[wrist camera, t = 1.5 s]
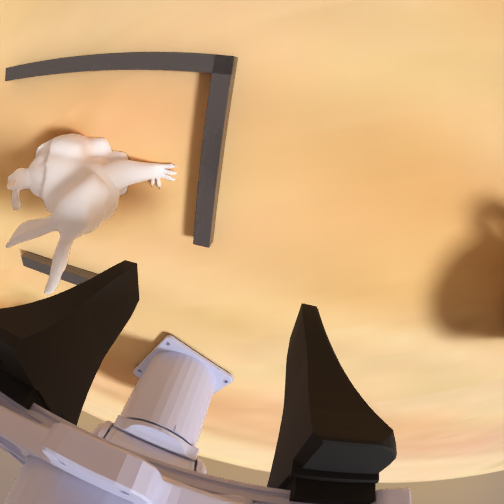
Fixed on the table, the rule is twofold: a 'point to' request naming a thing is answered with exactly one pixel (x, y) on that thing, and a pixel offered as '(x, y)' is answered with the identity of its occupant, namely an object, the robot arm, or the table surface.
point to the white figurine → (76, 190)
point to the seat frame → (213, 129)
